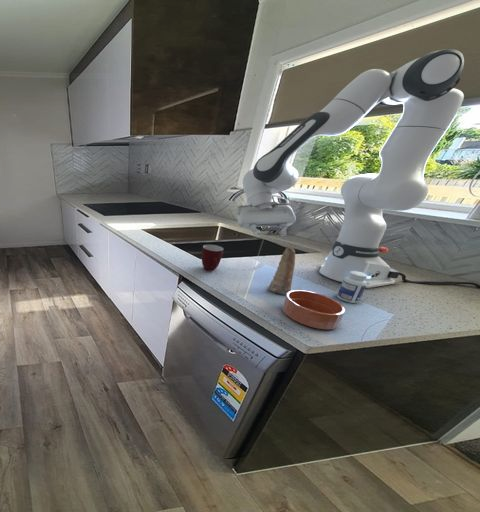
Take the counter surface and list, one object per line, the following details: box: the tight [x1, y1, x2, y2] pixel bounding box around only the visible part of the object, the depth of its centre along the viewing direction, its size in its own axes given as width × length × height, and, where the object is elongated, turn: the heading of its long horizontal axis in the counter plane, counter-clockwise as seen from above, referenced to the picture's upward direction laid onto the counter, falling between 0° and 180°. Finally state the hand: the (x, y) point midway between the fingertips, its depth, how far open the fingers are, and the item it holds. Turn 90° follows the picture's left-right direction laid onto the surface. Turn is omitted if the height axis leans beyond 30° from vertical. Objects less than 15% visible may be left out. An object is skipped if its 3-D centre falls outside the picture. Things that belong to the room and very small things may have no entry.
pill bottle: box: [336, 271, 367, 304], centre depth 81 cm, size 5×5×10 cm
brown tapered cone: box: [268, 245, 296, 296], centre depth 84 cm, size 6×18×6 cm
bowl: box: [281, 289, 346, 330], centre depth 73 cm, size 13×13×6 cm
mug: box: [201, 244, 225, 272], centre depth 102 cm, size 10×8×10 cm
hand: (270, 235), depth 92 cm, fingers open, 8 cm apart
